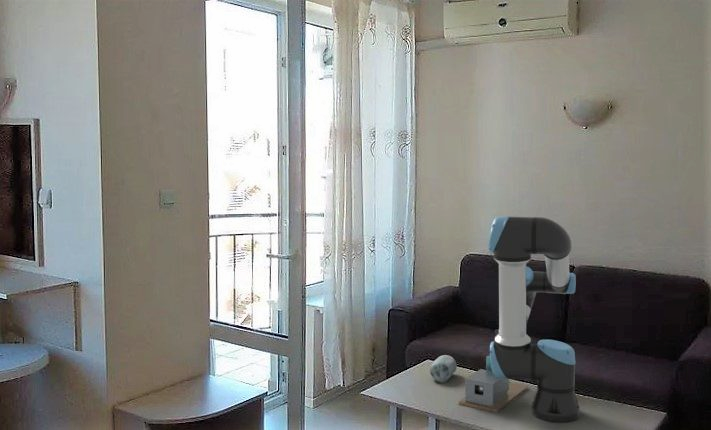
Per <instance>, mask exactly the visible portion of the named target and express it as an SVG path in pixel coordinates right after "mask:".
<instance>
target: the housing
mask: <svg viewBox="0 0 711 430" xmlns="http://www.w3.org/2000/svg"><path fill="white" fill-rule="evenodd" d="M464 382H465V383H464V384H465V388H464V393H465V396H464V397H463V398H462V399H460V400H459V401H458V405H460V406H463V407H464V406H465V407H469V408H473V409H477V410H478V409H479V410H483V411H487V412H491V413H495V414H497V413H499V412H501V411H502V410H503V409H505V407H506V406H508V405H510V403H512V402H513V401H514V400H515V399H517V398H518V397H520V395H522V394H523V393H524V392H526V391H527V390H529V385H525V384H521V383H516V382H515V383H514V382H510V381H509V390H508V391H507V379H506V378H501V377H497V376H495V375H494V373H493V371H488V370H486V369H481V368H480V369H479V370H477V371H475V372H474V373H472V374H471V375H469V376H468V377H466V378H465V381H464ZM478 386H483V392H482V393H481V392H479V391H478V389H477V388H478Z"/></svg>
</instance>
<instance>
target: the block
mask: <svg viewBox="0 0 711 430" xmlns="http://www.w3.org/2000/svg"><path fill="white" fill-rule="evenodd" d="M485 370H488V371H492V368H491V362H490V355H487V356H486V357H485ZM509 382H510V379H507V391H508V390H509ZM477 389H478V391H479V392H481V393H482V392H483V386H478V388H477Z"/></svg>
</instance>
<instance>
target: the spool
mask: <svg viewBox="0 0 711 430" xmlns="http://www.w3.org/2000/svg"><path fill="white" fill-rule="evenodd" d="M457 367H458V366H457V362H456V360H455V359H454V358H453V357H452V356H451V355H449V354H448V355H447V354H444V355H440V356H438V357H437V358H436V359H435V360H434V361H433V362H432V363H431V365H430V366H429V374H430V375H431V377H432V378H433V379H434V380H435V381H436V382H438V383H445V382H447V381H448V380H449V379H450V378H451V377H452V375H454V373H456V371H457Z"/></svg>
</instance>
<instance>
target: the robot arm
mask: <svg viewBox="0 0 711 430" xmlns="http://www.w3.org/2000/svg"><path fill="white" fill-rule="evenodd" d="M571 251H572V240H571V237H570V234H568V232H567V231H566V229H565V228H564V227H563V226H562V225H560V224H559V223H558V222H556V221H554V220H552V219H550V218H548V217H541V216H537V217H535V216H534V217H532V216H531V217H530V216H510V215H508V216H497V217H495V218H494V220H493V221H492V224H491V228H490V232H489V240H488V252H489V253H491V254H493V260H494V261H495V262H496V263H497V264H498V317H499V318H498V321H499V322H498V325H499V326H498V329H495V330H494V333H495V336H494V341H491V342H490V344H489V356H490V362H491V368H492V371H493V373H494V375H495V376H497V377H501V378H506V379H509V380H518V381H519V380H520V381H521V380H523V381H534V382H537V385H536V386H537V388H536V392H535V395H534V398H533V401H532V403H531V413H532V415H533V416H535V417H536V418H539V419H542V420H544V421H548V422H555V423H556V422H557V423H566V422H568V423H569V422H573V421H576V420H578V419H579V418H580V416H581V407H580V404H579V401H578V399H577V396H576V392H575V389H576V388H575V385H576V384H575V383H576V382H575V380H576V379H575V375H576V374H575V373H576V370H575V369H576V366H575V365H576V364H577V363H576V357H575V356H576V355H575V354H576V352H575V350H574V348H573V347H572V346H571V345H570V344H568V343H565V342H562V341H559V340H554V339H540V340H538V342H537V344H532V339H531V337H530V336H529V335H528V334H527V324H528V320H529V317H530V315H531V311H532V308H533V305H534V301H535V298H536V295H537V293H543V294H545V293H547V294H562V295H566V294H568V295H569V294H570V295H572V294H574V293H576V285H577V284H576V280H577V278H576V277H577V275H576V274H575V273H573V272H570V258H569V257H570V254H571ZM532 255H543V256H544V260H545V267H546V271H535V270H532V268H531V267H529V266H527V264H528V263H529V262H530V261H531V260H532Z"/></svg>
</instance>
